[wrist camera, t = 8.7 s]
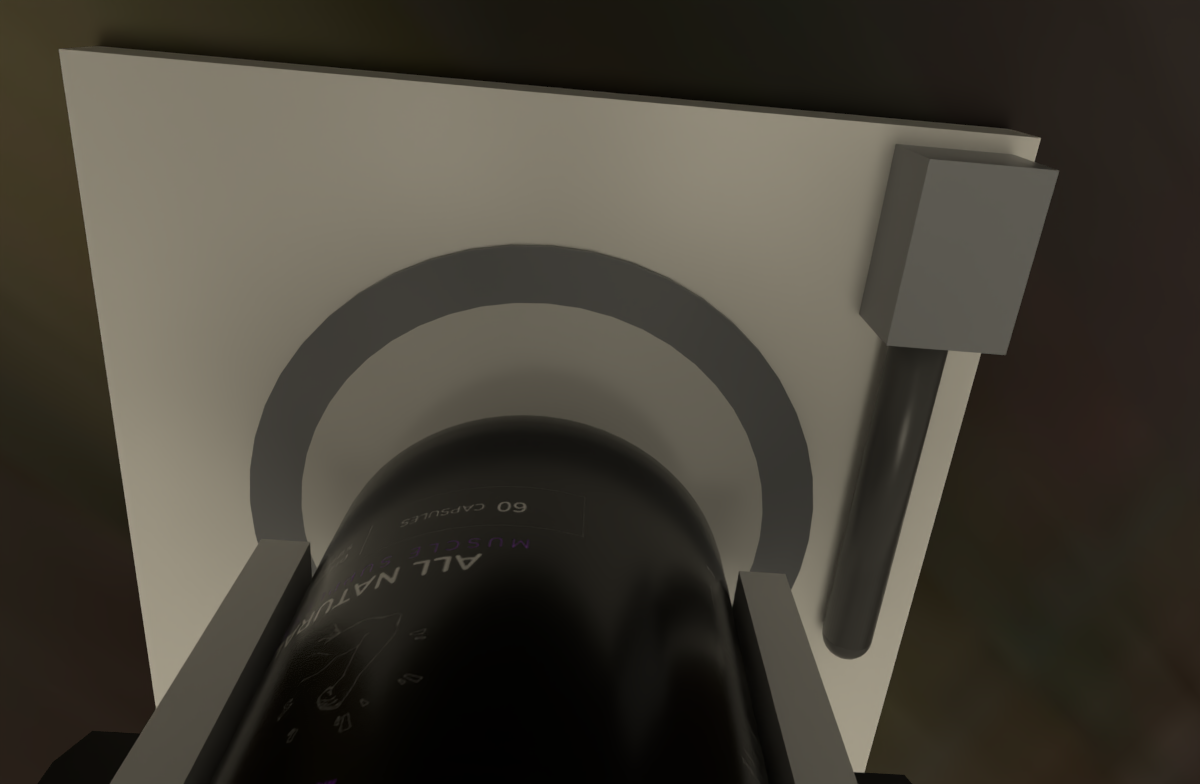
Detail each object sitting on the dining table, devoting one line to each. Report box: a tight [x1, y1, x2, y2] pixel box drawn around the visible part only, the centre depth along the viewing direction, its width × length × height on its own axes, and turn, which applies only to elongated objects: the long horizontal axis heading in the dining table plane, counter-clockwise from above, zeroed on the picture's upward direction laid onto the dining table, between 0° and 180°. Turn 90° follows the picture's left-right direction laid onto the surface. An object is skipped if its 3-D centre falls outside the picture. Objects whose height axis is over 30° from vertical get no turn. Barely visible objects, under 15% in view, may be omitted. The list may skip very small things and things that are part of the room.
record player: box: [59, 46, 1059, 773], centre depth 17 cm, size 16×16×3 cm
